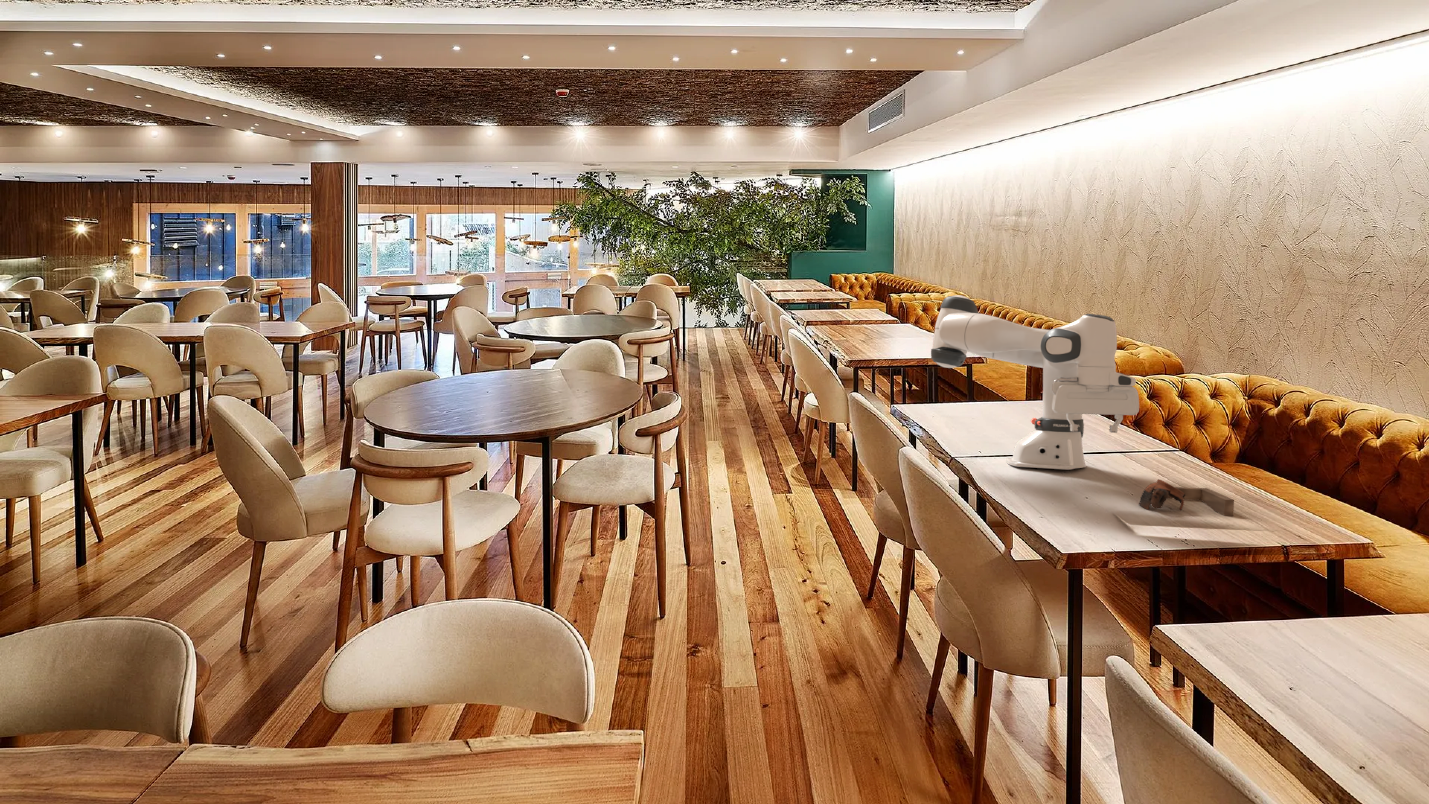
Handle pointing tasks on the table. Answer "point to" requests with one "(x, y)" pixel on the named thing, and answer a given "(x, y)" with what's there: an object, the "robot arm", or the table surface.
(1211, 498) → the dock
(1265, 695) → the table surface
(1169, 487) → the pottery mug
